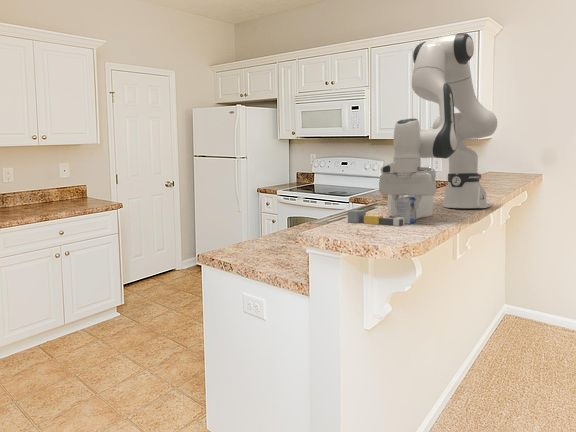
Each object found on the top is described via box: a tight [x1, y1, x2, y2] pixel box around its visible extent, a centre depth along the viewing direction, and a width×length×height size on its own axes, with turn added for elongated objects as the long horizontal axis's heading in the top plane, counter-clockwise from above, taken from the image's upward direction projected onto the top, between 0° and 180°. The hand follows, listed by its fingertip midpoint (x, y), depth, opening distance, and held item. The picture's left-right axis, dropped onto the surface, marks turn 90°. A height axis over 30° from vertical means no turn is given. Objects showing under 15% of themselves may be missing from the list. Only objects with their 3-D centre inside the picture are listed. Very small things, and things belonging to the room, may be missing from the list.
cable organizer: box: [387, 195, 434, 220], centre depth 173 cm, size 15×11×12 cm
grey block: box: [347, 209, 367, 224], centre depth 162 cm, size 5×5×4 cm
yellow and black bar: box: [359, 214, 405, 227], centre depth 155 cm, size 4×16×3 cm, turn 44°
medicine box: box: [396, 197, 417, 225], centre depth 157 cm, size 8×4×9 cm, turn 148°
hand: (406, 208), depth 157 cm, fingers closed on medicine box, 5 cm apart
